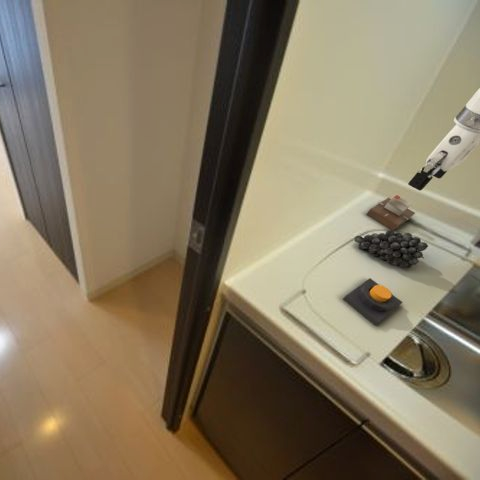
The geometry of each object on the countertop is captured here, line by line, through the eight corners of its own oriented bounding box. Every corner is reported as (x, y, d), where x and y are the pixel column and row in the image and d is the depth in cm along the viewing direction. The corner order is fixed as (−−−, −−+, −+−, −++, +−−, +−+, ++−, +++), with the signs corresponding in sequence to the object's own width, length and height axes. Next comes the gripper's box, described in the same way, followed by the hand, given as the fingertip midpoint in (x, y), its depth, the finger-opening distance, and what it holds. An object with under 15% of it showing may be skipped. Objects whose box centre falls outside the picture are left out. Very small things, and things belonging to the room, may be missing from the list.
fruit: (367, 225, 82) (438, 248, 77) (363, 215, 88) (429, 235, 83) (349, 254, 86) (415, 277, 81) (347, 242, 93) (408, 262, 88)
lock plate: (381, 204, 102) (387, 196, 99) (409, 220, 97) (417, 213, 95) (363, 215, 98) (369, 207, 96) (392, 233, 93) (399, 225, 91)
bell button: (374, 286, 76) (379, 282, 75) (389, 298, 74) (395, 293, 73) (366, 293, 75) (370, 289, 74) (381, 305, 73) (386, 300, 71)
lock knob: (402, 214, 94) (412, 203, 91) (399, 216, 94) (409, 205, 90) (386, 205, 97) (396, 194, 94) (383, 207, 96) (393, 196, 93)
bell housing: (364, 283, 81) (374, 273, 78) (396, 307, 77) (408, 298, 74) (340, 300, 78) (350, 291, 75) (372, 327, 73) (384, 318, 70)
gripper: (481, 136, 66) (422, 200, 79) (515, 116, 73) (455, 178, 85) (441, 121, 71) (391, 184, 83) (477, 103, 77) (425, 164, 90)
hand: (424, 181), depth 84 cm, fingers open, 9 cm apart
